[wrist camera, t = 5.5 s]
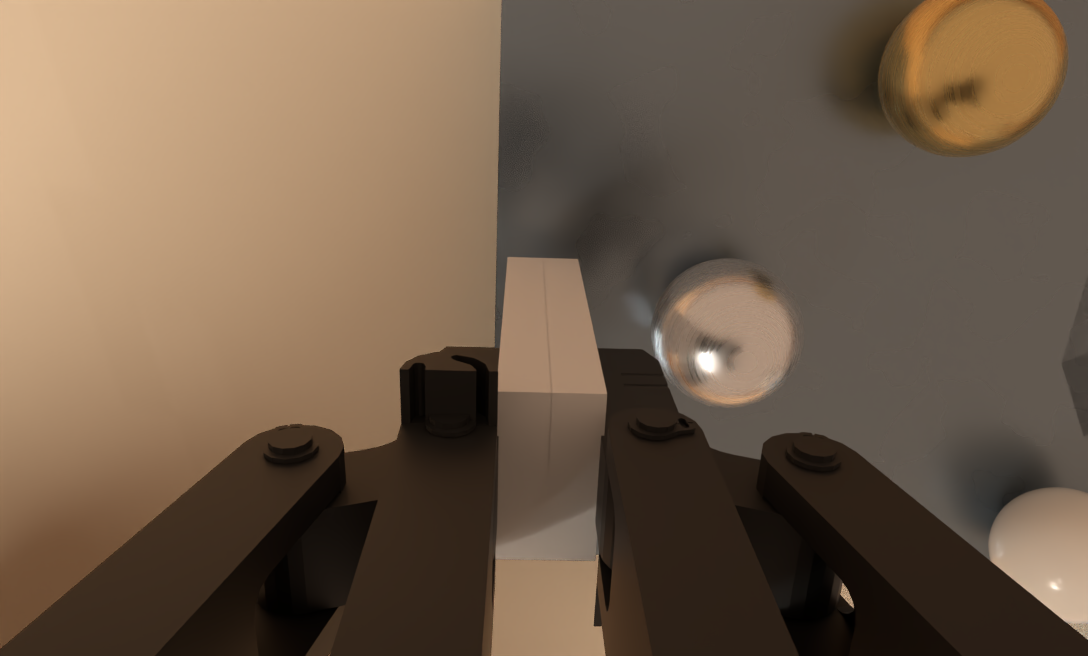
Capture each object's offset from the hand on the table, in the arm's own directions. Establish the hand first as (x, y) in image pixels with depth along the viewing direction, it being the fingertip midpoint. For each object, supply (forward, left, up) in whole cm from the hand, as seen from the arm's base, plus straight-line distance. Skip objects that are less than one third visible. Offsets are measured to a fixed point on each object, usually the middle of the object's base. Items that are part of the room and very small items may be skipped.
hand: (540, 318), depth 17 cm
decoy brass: (+8, +5, 0) cm, 10 cm away
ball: (+4, 0, 0) cm, 4 cm away
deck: (+11, 0, -4) cm, 12 cm away
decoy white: (+13, -6, 0) cm, 14 cm away
